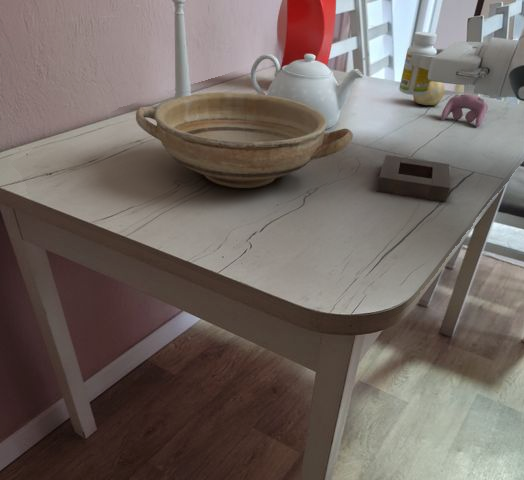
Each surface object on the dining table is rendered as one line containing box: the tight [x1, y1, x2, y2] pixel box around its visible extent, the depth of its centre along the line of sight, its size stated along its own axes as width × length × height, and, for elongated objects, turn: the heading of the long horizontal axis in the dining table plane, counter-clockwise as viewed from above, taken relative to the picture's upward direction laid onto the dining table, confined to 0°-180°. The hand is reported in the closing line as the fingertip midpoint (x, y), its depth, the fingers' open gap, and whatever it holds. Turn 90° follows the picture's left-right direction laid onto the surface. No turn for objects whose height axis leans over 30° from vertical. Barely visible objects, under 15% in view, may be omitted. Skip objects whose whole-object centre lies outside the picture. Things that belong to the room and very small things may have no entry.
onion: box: [412, 80, 446, 106], centre depth 128 cm, size 8×8×7 cm
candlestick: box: [155, 0, 192, 110], centre depth 105 cm, size 13×13×30 cm
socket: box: [376, 154, 451, 203], centre depth 87 cm, size 12×12×2 cm
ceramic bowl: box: [135, 91, 354, 189], centre depth 84 cm, size 37×29×10 cm
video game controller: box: [440, 93, 489, 128], centre depth 119 cm, size 10×5×7 cm, turn 58°
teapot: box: [250, 53, 364, 130], centre depth 109 cm, size 19×18×14 cm
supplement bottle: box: [399, 31, 438, 96], centre depth 92 cm, size 5×5×10 cm
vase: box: [276, 0, 337, 70], centre depth 127 cm, size 15×14×28 cm
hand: (416, 56), depth 91 cm, fingers closed on supplement bottle, 5 cm apart
